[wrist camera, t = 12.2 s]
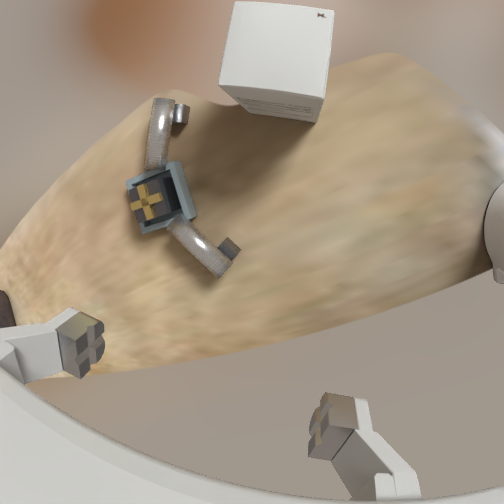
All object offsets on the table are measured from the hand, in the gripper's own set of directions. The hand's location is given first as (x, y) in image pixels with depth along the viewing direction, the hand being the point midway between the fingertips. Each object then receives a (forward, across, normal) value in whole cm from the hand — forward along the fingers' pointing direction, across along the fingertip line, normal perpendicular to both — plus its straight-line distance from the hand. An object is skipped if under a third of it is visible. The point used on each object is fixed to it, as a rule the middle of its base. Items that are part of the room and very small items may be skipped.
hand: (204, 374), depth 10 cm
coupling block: (+30, +16, +1) cm, 34 cm away
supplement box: (+31, +3, -17) cm, 36 cm away
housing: (+31, +16, +1) cm, 35 cm away
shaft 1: (+31, +17, -8) cm, 36 cm away
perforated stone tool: (+31, +56, +37) cm, 74 cm away
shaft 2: (+31, +9, +5) cm, 33 cm away
